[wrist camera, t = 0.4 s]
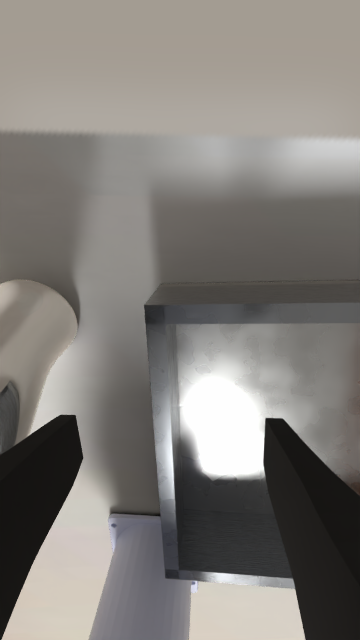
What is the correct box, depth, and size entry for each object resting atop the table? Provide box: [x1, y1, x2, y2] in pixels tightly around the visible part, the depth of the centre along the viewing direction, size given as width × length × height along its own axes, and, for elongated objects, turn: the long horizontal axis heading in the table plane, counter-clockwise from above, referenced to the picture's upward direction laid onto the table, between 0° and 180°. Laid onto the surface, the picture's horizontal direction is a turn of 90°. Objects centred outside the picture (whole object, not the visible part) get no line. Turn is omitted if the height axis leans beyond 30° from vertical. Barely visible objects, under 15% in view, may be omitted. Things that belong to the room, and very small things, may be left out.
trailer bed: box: [144, 280, 360, 589], centre depth 19 cm, size 20×16×6 cm
